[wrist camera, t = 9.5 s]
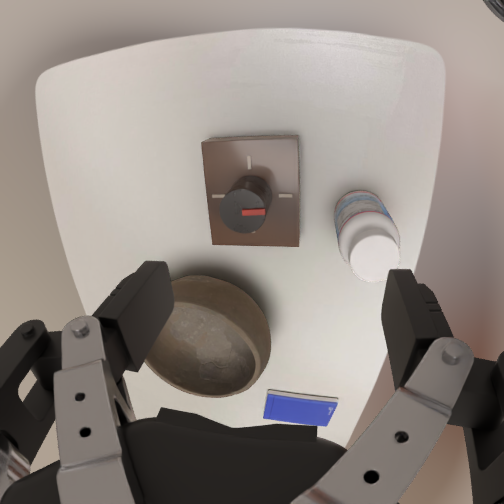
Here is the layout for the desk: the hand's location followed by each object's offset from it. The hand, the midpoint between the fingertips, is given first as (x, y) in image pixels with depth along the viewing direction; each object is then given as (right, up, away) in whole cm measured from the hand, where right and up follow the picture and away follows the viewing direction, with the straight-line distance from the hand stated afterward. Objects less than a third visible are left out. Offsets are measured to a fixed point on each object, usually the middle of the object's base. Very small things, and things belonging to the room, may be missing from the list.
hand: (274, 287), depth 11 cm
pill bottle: (+12, +6, +25) cm, 28 cm away
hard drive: (+8, -27, +43) cm, 51 cm away
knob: (-1, +7, +23) cm, 24 cm away
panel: (0, +9, +25) cm, 27 cm away
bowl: (-6, -7, +35) cm, 36 cm away
